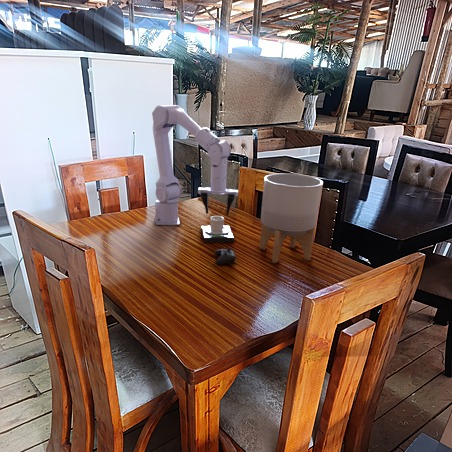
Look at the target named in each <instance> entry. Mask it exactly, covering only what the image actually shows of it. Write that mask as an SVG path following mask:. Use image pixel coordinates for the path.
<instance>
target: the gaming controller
mask: <svg viewBox="0 0 452 452" xmlns="http://www.w3.org/2000/svg"><path fill="white" fill-rule="evenodd" d="M214 256H216V257H218V258H216V261H215V265H217V266H223V265H227V264H230V265H232V264H236V261H235V260H236V254H235V251H234V249H233V250H232V248H231V247H227V249H226V248H219V249H217V250H215V251H214Z"/></svg>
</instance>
